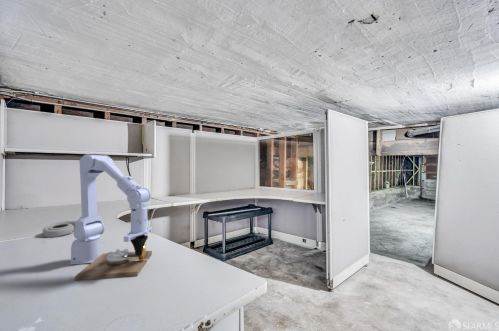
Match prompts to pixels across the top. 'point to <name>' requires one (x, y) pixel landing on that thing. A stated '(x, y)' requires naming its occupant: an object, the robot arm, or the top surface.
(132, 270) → the plain tan brown board
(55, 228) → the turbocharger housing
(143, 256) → the crank handle wheel
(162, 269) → the top surface
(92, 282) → the top surface
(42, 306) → the top surface
